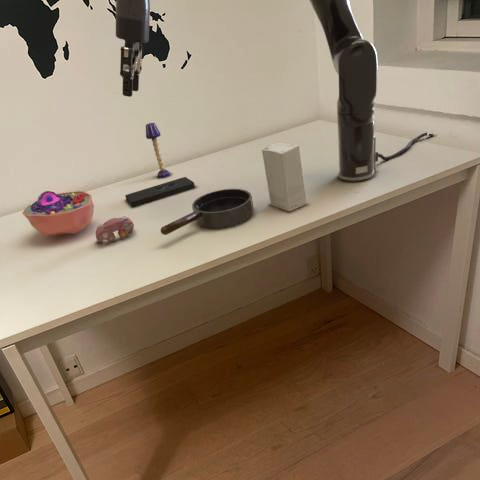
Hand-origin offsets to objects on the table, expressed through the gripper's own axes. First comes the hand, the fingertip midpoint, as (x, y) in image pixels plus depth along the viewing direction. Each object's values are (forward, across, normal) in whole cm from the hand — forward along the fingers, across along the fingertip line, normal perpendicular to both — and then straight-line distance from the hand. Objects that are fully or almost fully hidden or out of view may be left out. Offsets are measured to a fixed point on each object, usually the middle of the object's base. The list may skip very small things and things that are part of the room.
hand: (130, 93), depth 118 cm
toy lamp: (+29, +31, -6) cm, 43 cm away
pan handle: (+24, -21, -17) cm, 36 cm away
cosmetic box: (+19, -10, -42) cm, 48 cm away
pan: (+24, -12, -27) cm, 38 cm away
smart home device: (+29, +13, -8) cm, 33 cm away
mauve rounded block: (+32, -16, -1) cm, 36 cm away
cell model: (+37, -6, +15) cm, 40 cm away
